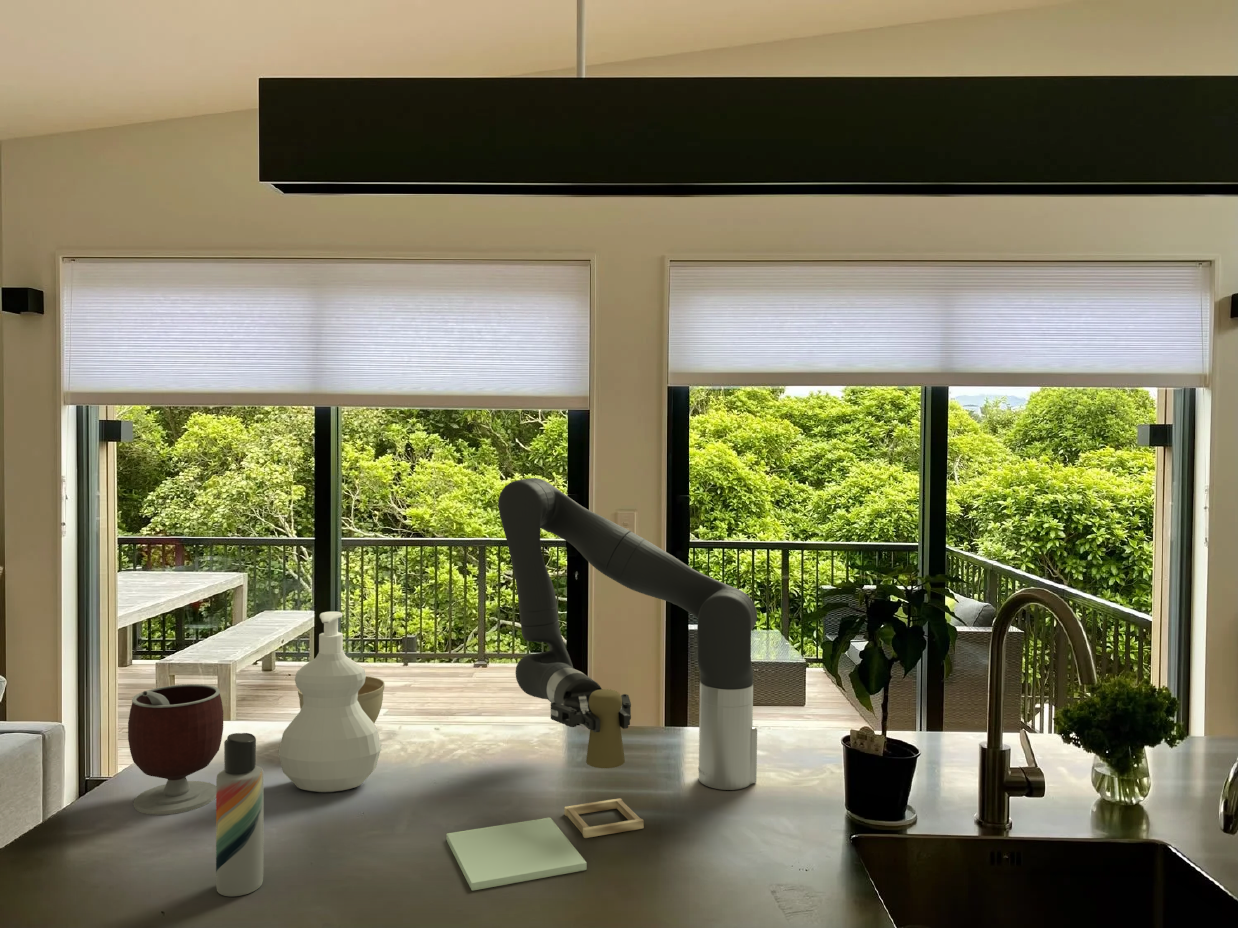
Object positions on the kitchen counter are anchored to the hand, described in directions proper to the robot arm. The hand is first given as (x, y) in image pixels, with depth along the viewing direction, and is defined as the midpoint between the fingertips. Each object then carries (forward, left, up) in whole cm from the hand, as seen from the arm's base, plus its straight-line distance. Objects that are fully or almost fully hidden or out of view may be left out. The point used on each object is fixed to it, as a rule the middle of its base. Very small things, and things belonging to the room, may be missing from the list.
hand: (612, 723), depth 137 cm
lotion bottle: (+52, -1, -16) cm, 55 cm away
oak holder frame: (0, -3, -16) cm, 16 cm away
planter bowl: (+34, -56, -16) cm, 67 cm away
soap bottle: (+38, -33, -16) cm, 53 cm away
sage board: (+16, +3, -16) cm, 23 cm away
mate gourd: (+62, -35, -16) cm, 73 cm away
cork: (0, -3, -7) cm, 7 cm away
